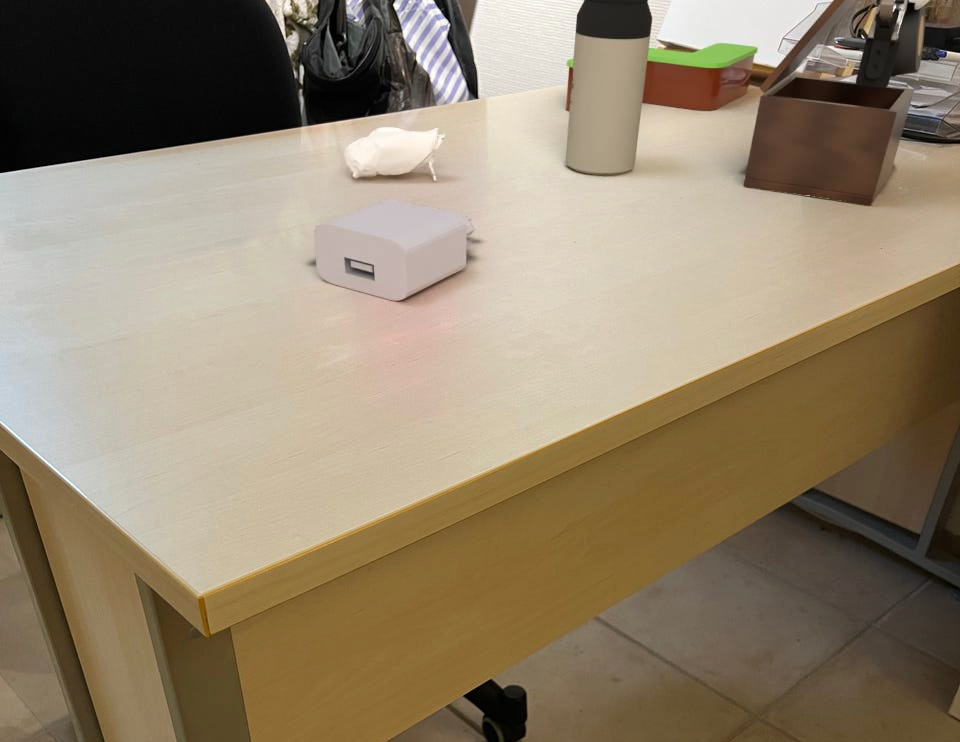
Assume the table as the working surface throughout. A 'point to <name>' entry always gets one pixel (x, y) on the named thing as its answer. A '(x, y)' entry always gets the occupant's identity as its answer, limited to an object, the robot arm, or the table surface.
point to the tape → (910, 41)
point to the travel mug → (607, 85)
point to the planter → (694, 76)
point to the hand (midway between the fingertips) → (877, 78)
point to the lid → (807, 42)
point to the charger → (392, 248)
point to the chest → (827, 138)
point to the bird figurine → (392, 152)
